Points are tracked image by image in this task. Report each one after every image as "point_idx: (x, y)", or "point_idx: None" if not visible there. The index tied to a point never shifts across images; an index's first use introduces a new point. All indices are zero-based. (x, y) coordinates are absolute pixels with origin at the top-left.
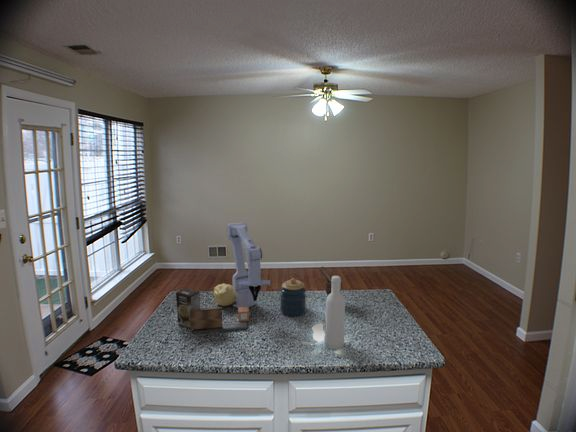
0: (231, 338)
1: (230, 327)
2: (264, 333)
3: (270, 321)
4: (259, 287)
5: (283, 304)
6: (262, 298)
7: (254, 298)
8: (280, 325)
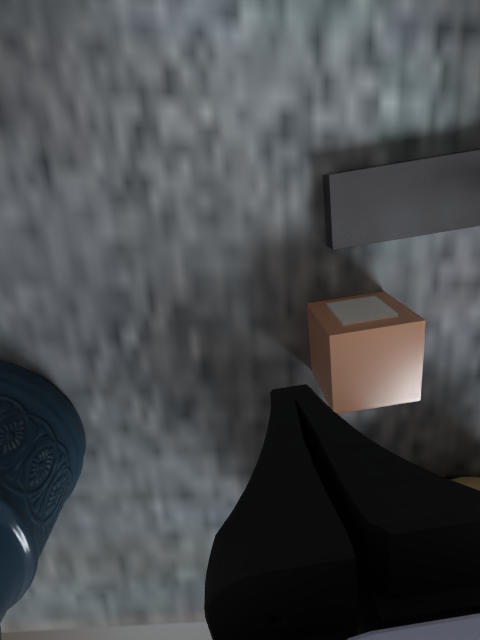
0: (459, 2)
1: (467, 163)
2: (169, 86)
3: (142, 291)
4: (240, 605)
5: (13, 441)
6: None
7: (308, 402)
8: (49, 226)
